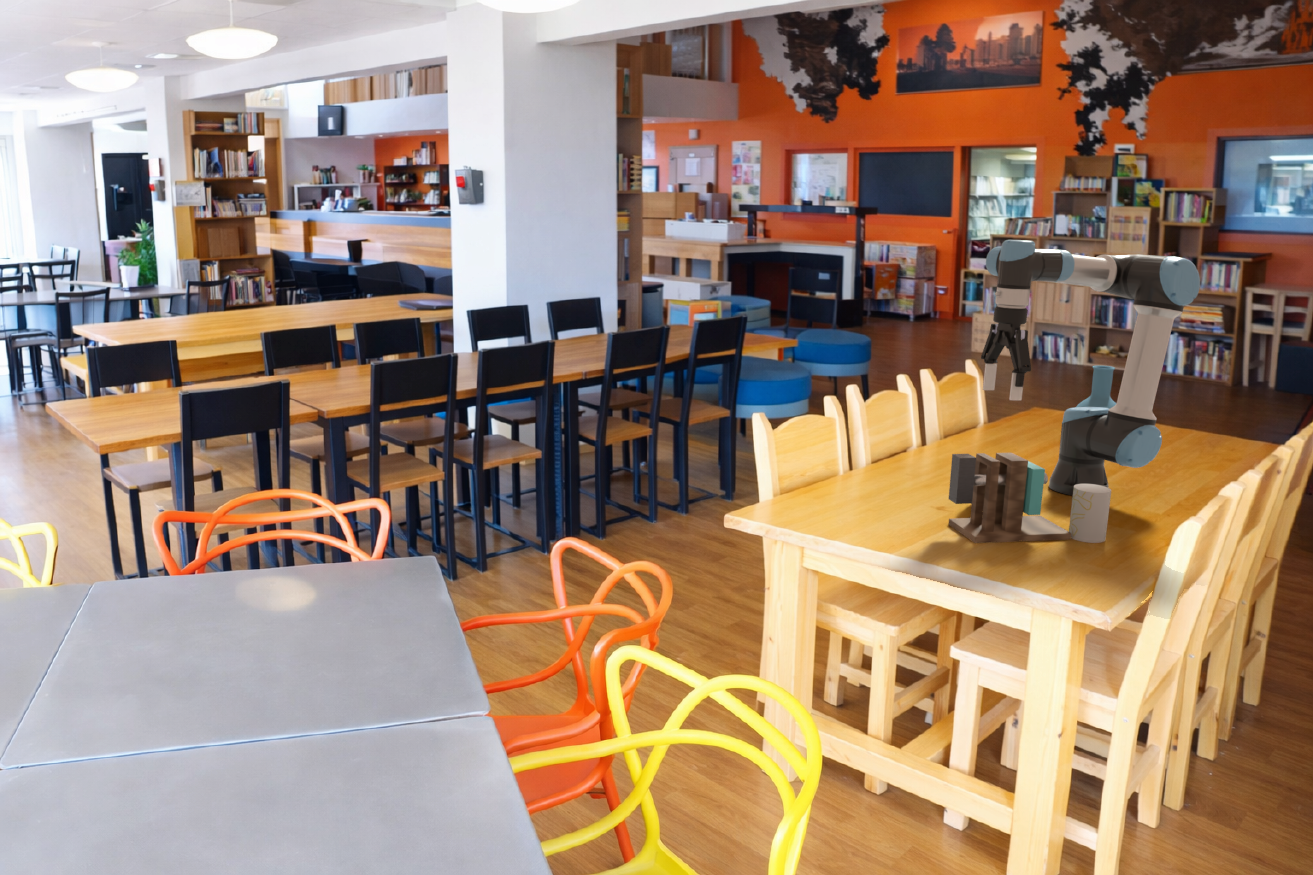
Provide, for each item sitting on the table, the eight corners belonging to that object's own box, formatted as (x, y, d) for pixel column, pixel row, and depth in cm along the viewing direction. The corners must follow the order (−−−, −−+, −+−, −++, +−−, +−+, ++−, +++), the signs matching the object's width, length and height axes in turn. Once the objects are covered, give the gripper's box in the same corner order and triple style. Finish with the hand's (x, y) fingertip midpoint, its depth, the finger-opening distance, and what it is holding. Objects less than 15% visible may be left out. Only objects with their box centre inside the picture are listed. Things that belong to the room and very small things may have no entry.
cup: (1062, 532, 249) (1067, 483, 247) (1094, 531, 250) (1100, 483, 247) (1078, 542, 242) (1084, 493, 239) (1112, 542, 242) (1118, 492, 240)
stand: (1039, 521, 257) (1047, 448, 253) (1070, 539, 244) (1079, 462, 240) (948, 524, 253) (954, 450, 249) (974, 543, 240) (982, 465, 236)
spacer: (1016, 501, 253) (1021, 457, 251) (1040, 514, 243) (1045, 469, 240) (1005, 501, 253) (1009, 457, 250) (1028, 515, 242) (1033, 469, 240)
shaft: (1038, 496, 250) (1043, 451, 248) (1047, 501, 246) (1052, 455, 244) (948, 499, 246) (952, 454, 244) (956, 503, 243) (959, 458, 240)
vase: (1130, 447, 338) (1140, 371, 333) (1079, 446, 339) (1088, 370, 333) (1109, 436, 355) (1118, 363, 349) (1061, 435, 355) (1069, 362, 349)
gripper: (972, 301, 257) (964, 385, 262) (1022, 311, 233) (1012, 404, 238) (1001, 301, 258) (992, 386, 263) (1053, 312, 234) (1042, 404, 239)
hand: (1001, 395), depth 250 cm, fingers open, 13 cm apart
